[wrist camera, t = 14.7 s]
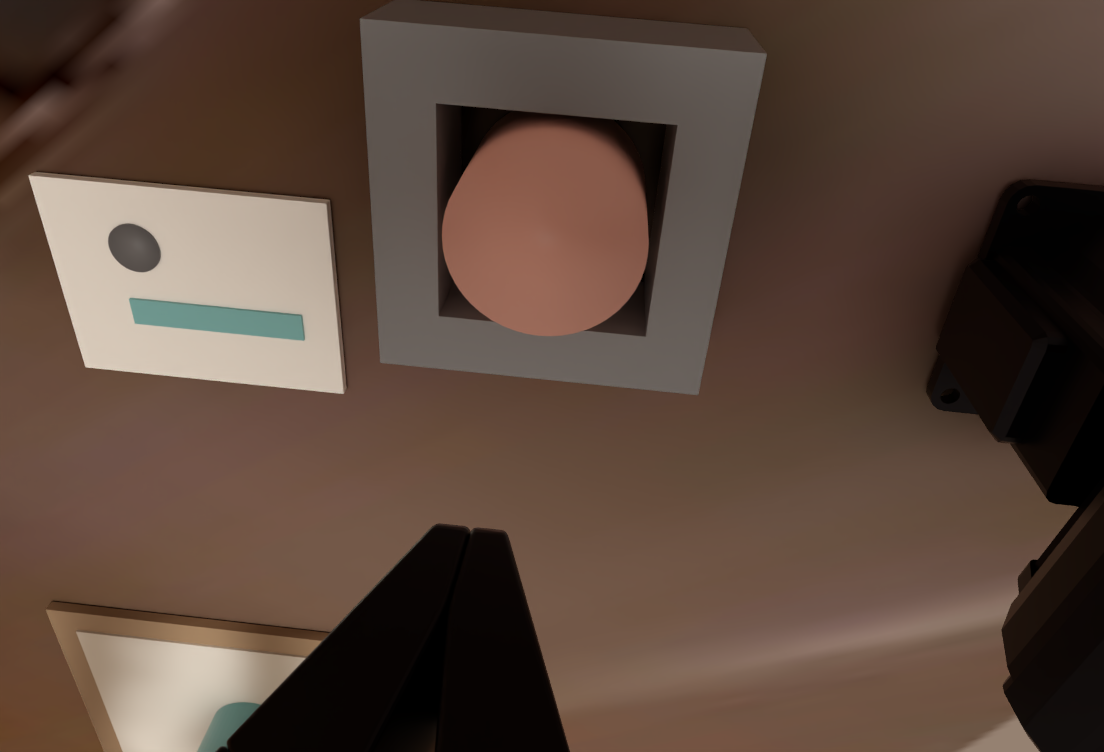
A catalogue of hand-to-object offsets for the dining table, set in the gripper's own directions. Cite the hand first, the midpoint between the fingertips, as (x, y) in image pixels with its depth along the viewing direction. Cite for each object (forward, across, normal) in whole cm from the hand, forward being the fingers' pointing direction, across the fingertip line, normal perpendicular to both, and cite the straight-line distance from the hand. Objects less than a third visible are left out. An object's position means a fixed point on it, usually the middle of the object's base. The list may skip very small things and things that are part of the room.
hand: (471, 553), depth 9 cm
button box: (+13, 0, 0) cm, 13 cm away
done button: (+12, 0, 0) cm, 12 cm away
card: (+13, +10, +4) cm, 17 cm away
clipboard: (+13, +11, +25) cm, 30 cm away
